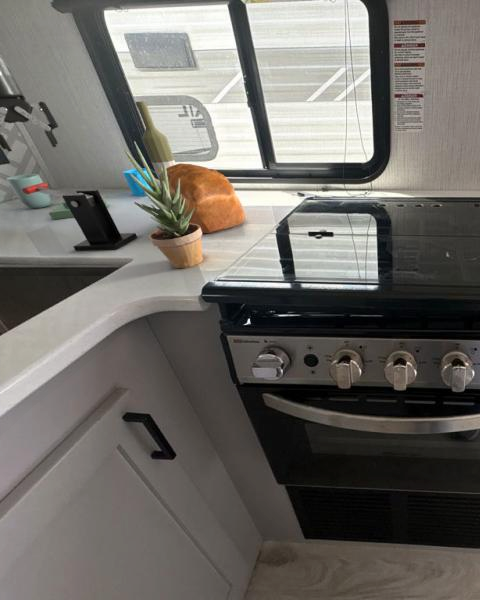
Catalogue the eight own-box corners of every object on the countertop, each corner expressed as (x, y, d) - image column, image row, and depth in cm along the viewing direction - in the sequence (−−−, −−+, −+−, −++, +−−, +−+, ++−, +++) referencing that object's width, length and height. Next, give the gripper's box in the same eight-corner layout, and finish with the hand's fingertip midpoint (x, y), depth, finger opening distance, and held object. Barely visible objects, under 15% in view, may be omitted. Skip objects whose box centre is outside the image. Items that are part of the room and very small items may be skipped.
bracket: (75, 250, 80) (43, 198, 73) (99, 238, 87) (72, 188, 80) (116, 249, 80) (88, 196, 74) (137, 237, 87) (113, 187, 80)
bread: (202, 237, 86) (179, 175, 77) (165, 217, 100) (142, 163, 92) (252, 222, 95) (236, 165, 86) (211, 206, 109) (194, 156, 101)
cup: (26, 206, 114) (7, 176, 109) (56, 202, 119) (38, 172, 113) (25, 211, 109) (4, 180, 104) (55, 206, 114) (38, 176, 108)
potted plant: (157, 263, 73) (99, 141, 60) (201, 249, 79) (158, 136, 66) (173, 277, 67) (114, 145, 54) (219, 261, 73) (176, 139, 60)
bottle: (180, 199, 117) (143, 101, 101) (161, 200, 118) (121, 102, 101) (191, 194, 123) (158, 101, 107) (173, 194, 123) (137, 101, 107)
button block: (53, 219, 101) (45, 206, 99) (63, 211, 109) (56, 198, 107) (100, 213, 106) (94, 200, 104) (107, 205, 113) (101, 193, 111)
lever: (23, 195, 74) (20, 185, 73) (43, 189, 79) (40, 179, 77) (83, 210, 77) (81, 200, 75) (99, 203, 81) (97, 194, 80)
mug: (133, 192, 128) (123, 170, 123) (157, 189, 132) (148, 167, 127) (133, 199, 119) (122, 175, 115) (159, 195, 123) (150, 172, 119)
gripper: (29, 74, 84) (65, 144, 92) (-57, 74, 75) (-8, 151, 83) (33, 73, 80) (70, 146, 88) (-57, 72, 71) (-6, 154, 79)
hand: (32, 149), depth 86 cm, fingers open, 8 cm apart
